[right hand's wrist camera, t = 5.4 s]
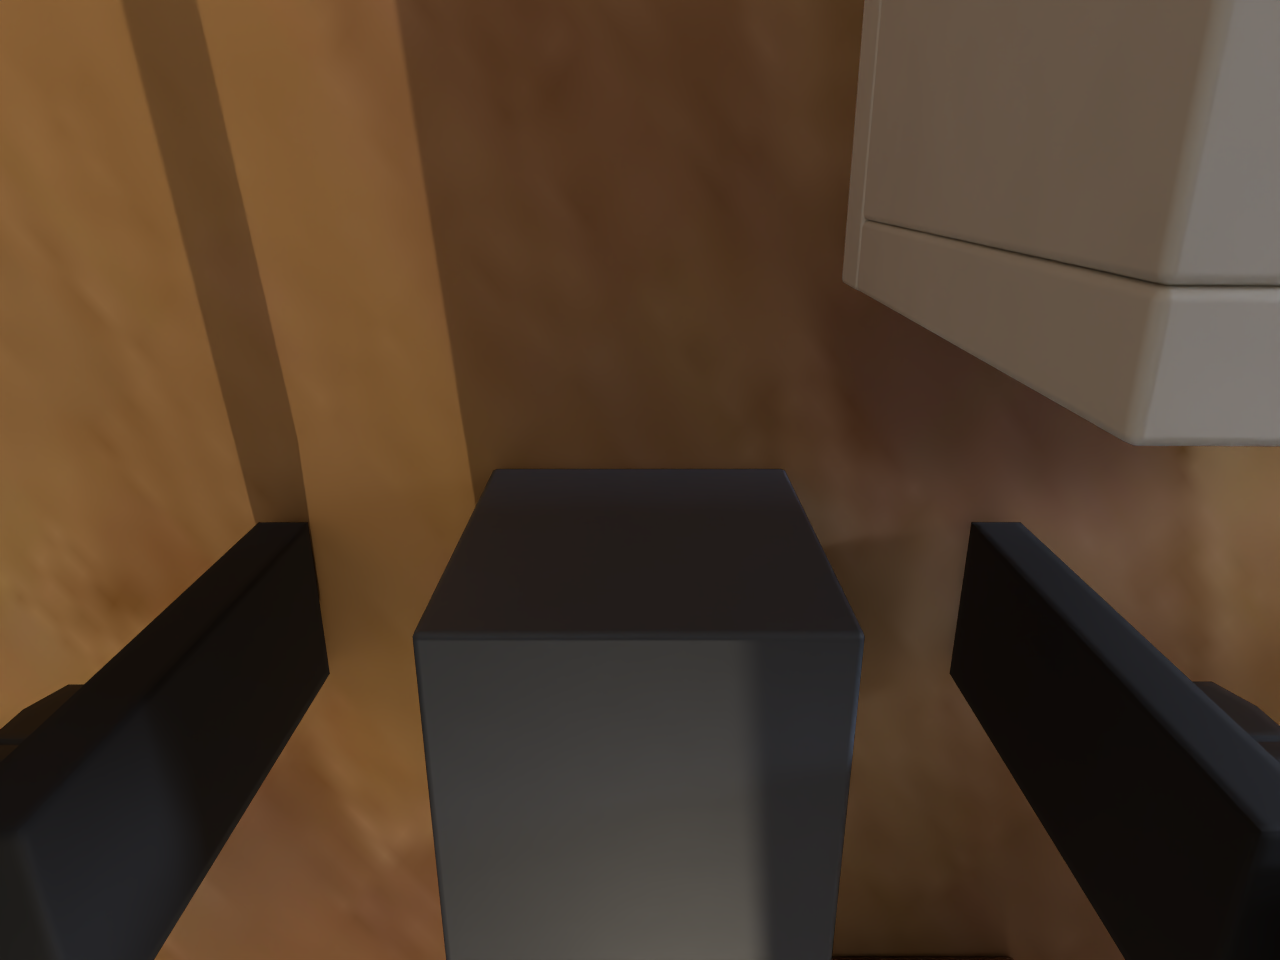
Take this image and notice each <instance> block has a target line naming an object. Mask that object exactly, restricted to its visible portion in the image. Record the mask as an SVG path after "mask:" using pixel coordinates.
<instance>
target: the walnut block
mask: <svg viewBox="0 0 1280 960" xmlns="http://www.w3.org/2000/svg"><path fill="white" fill-rule="evenodd" d="M832 960H1013V959H1012V958H1010V957H832Z"/></svg>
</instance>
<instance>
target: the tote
mask: <svg viewBox="0 0 1280 960" xmlns="http://www.w3.org/2000/svg"><path fill="white" fill-rule="evenodd" d="M842 280H843V282H844V283H845V284H847V285H849V286H850V287H852V288H854V289H856V290H858V291H861V292H862V293H864V294H866V295H868V296H869V297H871V298H873V299H875V300H876V301H878V302H880V303H882V304H883V305H885V306H887V307H889V308H891V309H892V310H894V311H896V312H898V313H899V314H901V315H903V316H905V317H906V318H908V319H910V320H912V321H913V322H915V323H917V324H919V325H920V326H922V327H924V328H926V329H927V330H929V331H931V332H933V333H934V334H936V335H938V336H940V337H941V338H943V339H945V340H947V341H949V342H950V343H952V344H954V345H956V346H957V347H959V348H961V349H963V350H964V351H966V352H968V353H970V354H971V355H973V356H975V357H977V358H978V359H980V360H982V361H984V362H985V363H987V364H989V365H991V366H992V367H994V368H996V369H998V370H999V371H1001V372H1003V373H1005V374H1007V375H1008V376H1010V377H1012V378H1014V379H1015V380H1017V381H1019V382H1021V383H1022V384H1024V385H1026V386H1028V387H1029V388H1031V389H1033V390H1035V391H1036V392H1038V393H1040V394H1042V395H1043V396H1045V397H1047V398H1049V399H1050V400H1052V401H1054V402H1056V403H1057V404H1059V405H1061V406H1063V407H1064V408H1066V409H1068V410H1070V411H1072V412H1073V413H1075V414H1077V415H1079V416H1080V417H1082V418H1084V419H1086V420H1087V421H1089V422H1091V423H1093V424H1094V425H1096V426H1098V427H1100V428H1101V429H1103V430H1105V431H1107V432H1108V433H1110V434H1112V435H1114V436H1115V437H1117V438H1119V439H1121V440H1122V441H1124V442H1127V443H1129V444H1131V445H1134V446H1280V0H865V1H864V13H863V26H862V38H861V50H860V63H859V75H858V88H857V100H856V113H855V125H854V138H853V150H852V163H851V175H850V188H849V200H848V213H847V225H846V238H845V250H844V262H843V275H842Z"/></svg>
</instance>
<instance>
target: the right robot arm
mask: <svg viewBox="0 0 1280 960" xmlns="http://www.w3.org/2000/svg"><path fill="white" fill-rule="evenodd" d="M329 674H330V672H329V666H328V659H327V652H326V645H325V638H324V631H323V624H322V617H321V611H320V604H319V597H318V590H317V583H316V576H315V569H314V563H313V556H312V549H311V542H310V535H309V528H308V522H259V523H258V524H257V525H256V526H254V527H253V528H252V529H251V530H250V531H249V532H248V533H247V534H246V535H245V536H244V537H243V538H242V539H240V540H239V541H238V542H237V543H236V544H235V545H234V546H233V547H232V548H231V549H230V550H229V551H228V552H226V553H225V554H224V555H223V556H222V557H221V558H220V559H219V560H218V561H217V562H216V563H215V564H214V565H212V566H211V567H210V568H209V569H208V570H207V571H206V572H205V573H204V574H203V575H202V576H201V577H200V578H198V579H197V580H196V581H195V582H194V583H193V584H192V585H191V586H190V587H189V588H188V589H187V590H186V591H184V592H183V593H182V594H181V595H180V596H179V597H178V598H177V599H176V600H175V601H174V602H173V603H172V604H170V605H169V606H168V607H167V608H166V609H165V610H164V611H163V612H162V613H161V614H160V615H159V616H158V617H156V618H155V619H154V620H153V621H152V622H151V623H150V624H149V625H148V626H147V627H146V628H145V629H144V630H142V631H141V632H140V633H139V634H138V635H137V636H136V637H135V638H134V639H133V640H132V641H131V642H130V643H128V644H127V645H126V646H125V647H124V648H123V649H122V650H121V651H120V652H119V653H118V654H117V655H116V656H114V657H113V658H112V659H111V660H110V661H109V662H108V663H107V664H106V665H105V666H104V667H103V668H102V669H100V670H99V671H98V672H97V673H96V674H95V675H94V676H93V677H92V678H91V679H90V680H89V681H87V682H86V683H85V684H84V685H67V686H65V687H63V688H61V689H60V690H58V691H56V692H54V693H52V694H50V695H49V696H47V697H45V698H43V699H41V700H40V701H38V702H36V703H34V704H32V705H31V706H29V707H27V708H25V709H23V710H22V711H21V712H20V713H19V714H18V715H16V716H15V717H14V718H13V719H12V720H11V721H10V722H8V723H7V724H6V725H5V726H4V727H3V728H2V729H0V960H154V959H155V957H156V955H157V954H158V952H159V951H160V949H161V947H162V946H163V944H164V942H165V941H166V939H167V938H168V936H169V934H170V933H171V931H172V929H173V928H174V926H175V925H176V923H177V921H178V920H179V918H180V916H181V915H182V913H183V912H184V910H185V908H186V907H187V905H188V903H189V902H190V900H191V898H192V897H193V895H194V894H195V892H196V890H197V889H198V887H199V885H200V884H201V882H202V881H203V879H204V877H205V876H206V874H207V872H208V871H209V869H210V868H211V866H212V864H213V863H214V861H215V859H216V858H217V856H218V855H219V853H220V851H221V850H222V848H223V846H224V845H225V843H226V841H227V840H228V838H229V837H230V835H231V833H232V832H233V830H234V828H235V827H236V825H237V824H238V822H239V820H240V819H241V817H242V815H243V814H244V812H245V811H246V809H247V807H248V806H249V804H250V802H251V801H252V799H253V798H254V796H255V794H256V793H257V791H258V789H259V788H260V786H261V784H262V783H263V781H264V780H265V778H266V776H267V775H268V773H269V771H270V770H271V768H272V767H273V765H274V763H275V762H276V760H277V758H278V757H279V755H280V754H281V752H282V750H283V749H284V747H285V745H286V744H287V742H288V741H289V739H290V737H291V736H292V734H293V732H294V731H295V729H296V727H297V726H298V724H299V723H300V721H301V719H302V718H303V716H304V714H305V713H306V711H307V710H308V708H309V706H310V705H311V703H312V701H313V700H314V698H315V697H316V695H317V693H318V692H319V690H320V688H321V687H322V685H323V684H324V682H325V680H326V679H327V677H328V675H329ZM950 675H951V676H952V678H953V680H954V681H955V683H956V685H957V686H958V688H959V689H960V691H961V693H962V694H963V696H964V698H965V699H966V701H967V702H968V704H969V706H970V707H971V709H972V711H973V712H974V714H975V715H976V717H977V719H978V720H979V722H980V724H981V725H982V727H983V729H984V730H985V732H986V733H987V735H988V737H989V738H990V740H991V742H992V743H993V745H994V746H995V748H996V750H997V751H998V753H999V755H1000V756H1001V758H1002V759H1003V761H1004V763H1005V764H1006V766H1007V768H1008V769H1009V771H1010V773H1011V774H1012V776H1013V777H1014V779H1015V781H1016V782H1017V784H1018V786H1019V787H1020V789H1021V790H1022V792H1023V794H1024V795H1025V797H1026V799H1027V800H1028V802H1029V803H1030V805H1031V807H1032V808H1033V810H1034V812H1035V813H1036V815H1037V817H1038V818H1039V820H1040V821H1041V823H1042V825H1043V826H1044V828H1045V830H1046V831H1047V833H1048V834H1049V836H1050V838H1051V839H1052V841H1053V843H1054V844H1055V846H1056V847H1057V849H1058V851H1059V852H1060V854H1061V856H1062V857H1063V859H1064V860H1065V862H1066V864H1067V865H1068V867H1069V869H1070V870H1071V872H1072V874H1073V875H1074V877H1075V878H1076V880H1077V882H1078V883H1079V885H1080V887H1081V888H1082V890H1083V891H1084V893H1085V895H1086V896H1087V898H1088V900H1089V901H1090V903H1091V904H1092V906H1093V908H1094V909H1095V911H1096V913H1097V914H1098V916H1099V918H1100V919H1101V921H1102V922H1103V924H1104V926H1105V927H1106V929H1107V931H1108V932H1109V934H1110V935H1111V937H1112V939H1113V940H1114V942H1115V944H1116V945H1117V947H1118V948H1119V950H1120V952H1121V953H1122V955H1123V957H1124V958H1125V960H1280V726H1279V725H1278V724H1276V723H1275V722H1274V721H1273V720H1272V719H1271V718H1270V717H1268V716H1267V715H1266V714H1265V713H1264V712H1263V711H1262V710H1260V709H1259V708H1258V707H1257V706H1255V705H1253V704H1251V703H1250V702H1248V701H1246V700H1244V699H1242V698H1241V697H1239V696H1237V695H1235V694H1233V693H1231V692H1230V691H1228V690H1226V689H1224V688H1222V687H1220V686H1219V685H1217V684H1215V683H1213V682H1192V681H1191V680H1190V679H1189V678H1187V677H1186V676H1185V675H1184V674H1183V673H1182V672H1181V671H1180V670H1179V669H1178V668H1177V667H1176V666H1175V665H1173V664H1172V663H1171V662H1170V661H1169V660H1168V659H1167V658H1166V657H1165V656H1164V655H1163V654H1162V653H1161V652H1159V651H1158V650H1157V649H1156V648H1155V647H1154V646H1153V645H1152V644H1151V643H1150V642H1149V641H1148V640H1147V639H1145V638H1144V637H1143V636H1142V635H1141V634H1140V633H1139V632H1138V631H1137V630H1136V629H1135V628H1134V627H1133V626H1131V625H1130V624H1129V623H1128V622H1127V621H1126V620H1125V619H1124V618H1123V617H1122V616H1121V615H1120V614H1119V613H1117V612H1116V611H1115V610H1114V609H1113V608H1112V607H1111V606H1110V605H1109V604H1108V603H1107V602H1106V601H1105V600H1103V599H1102V598H1101V597H1100V596H1099V595H1098V594H1097V593H1096V592H1095V591H1094V590H1093V589H1092V588H1091V587H1089V586H1088V585H1087V584H1086V583H1085V582H1084V581H1083V580H1082V579H1081V578H1080V577H1079V576H1078V575H1077V574H1075V573H1074V572H1073V571H1072V570H1071V569H1070V568H1069V567H1068V566H1067V565H1066V564H1065V563H1064V562H1063V561H1061V560H1060V559H1059V558H1058V557H1057V556H1056V555H1055V554H1054V553H1053V552H1052V551H1051V550H1050V549H1049V548H1047V547H1046V546H1045V545H1044V544H1043V543H1042V542H1041V541H1040V540H1039V539H1038V538H1037V537H1036V536H1035V535H1033V534H1032V533H1031V532H1030V531H1029V530H1028V529H1027V528H1026V527H1025V526H1024V525H1023V524H1022V523H1021V522H972V523H971V530H970V537H969V544H968V551H967V558H966V565H965V571H964V578H963V585H962V592H961V599H960V606H959V613H958V620H957V626H956V633H955V640H954V647H953V654H952V661H951V668H950Z"/></svg>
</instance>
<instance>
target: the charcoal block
mask: <svg viewBox="0 0 1280 960" xmlns="http://www.w3.org/2000/svg"><path fill="white" fill-rule="evenodd" d="M864 639H865V636H864V634H863V631H862V629H861V627H860V625H859V623H858V621H857V619H856V617H855V614H854V612H853V610H852V608H851V606H850V604H849V602H848V600H847V598H846V596H845V594H844V592H843V590H842V588H841V586H840V584H839V581H838V579H837V577H836V575H835V573H834V571H833V569H832V567H831V565H830V563H829V561H828V559H827V557H826V555H825V553H824V551H823V548H822V546H821V544H820V542H819V540H818V538H817V536H816V534H815V532H814V530H813V528H812V526H811V524H810V522H809V520H808V518H807V515H806V513H805V511H804V509H803V507H802V505H801V503H800V501H799V499H798V497H797V495H796V493H795V491H794V489H793V487H792V484H791V482H790V480H789V478H788V476H787V474H786V472H785V471H784V470H782V469H496V470H494V471H493V473H492V475H491V477H490V479H489V481H488V483H487V485H486V487H485V489H484V491H483V493H482V495H481V497H480V499H479V501H478V503H477V505H476V507H475V509H474V511H473V513H472V515H471V517H470V520H469V522H468V524H467V526H466V528H465V530H464V532H463V534H462V536H461V538H460V540H459V542H458V544H457V546H456V548H455V550H454V552H453V554H452V556H451V558H450V560H449V562H448V564H447V566H446V568H445V570H444V573H443V575H442V577H441V579H440V581H439V583H438V585H437V587H436V589H435V591H434V593H433V595H432V597H431V599H430V601H429V603H428V605H427V607H426V609H425V611H424V613H423V615H422V617H421V619H420V621H419V624H418V626H417V628H416V630H415V632H414V634H413V645H414V655H415V665H416V674H417V684H418V693H419V703H420V713H421V722H422V732H423V741H424V751H425V761H426V770H427V780H428V789H429V799H430V809H431V818H432V828H433V837H434V847H435V857H436V866H437V876H438V885H439V895H440V905H441V914H442V924H443V933H444V943H445V953H446V960H832V951H833V941H834V931H835V921H836V912H837V902H838V892H839V882H840V873H841V863H842V853H843V843H844V834H845V824H846V814H847V804H848V795H849V785H850V775H851V765H852V756H853V746H854V736H855V727H856V717H857V707H858V697H859V688H860V678H861V668H862V658H863V649H864Z"/></svg>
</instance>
